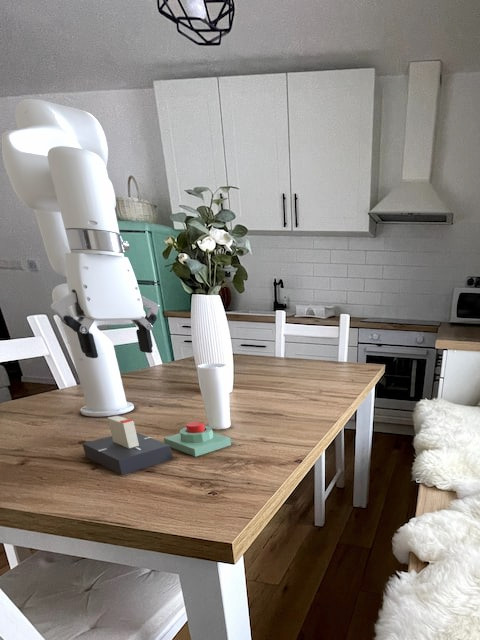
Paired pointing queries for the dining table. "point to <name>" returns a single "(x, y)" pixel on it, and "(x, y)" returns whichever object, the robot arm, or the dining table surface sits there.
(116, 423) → the knob
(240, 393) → the dining table surface
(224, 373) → the drinking glass
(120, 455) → the panel
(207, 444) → the button box
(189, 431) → the button
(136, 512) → the dining table surface
